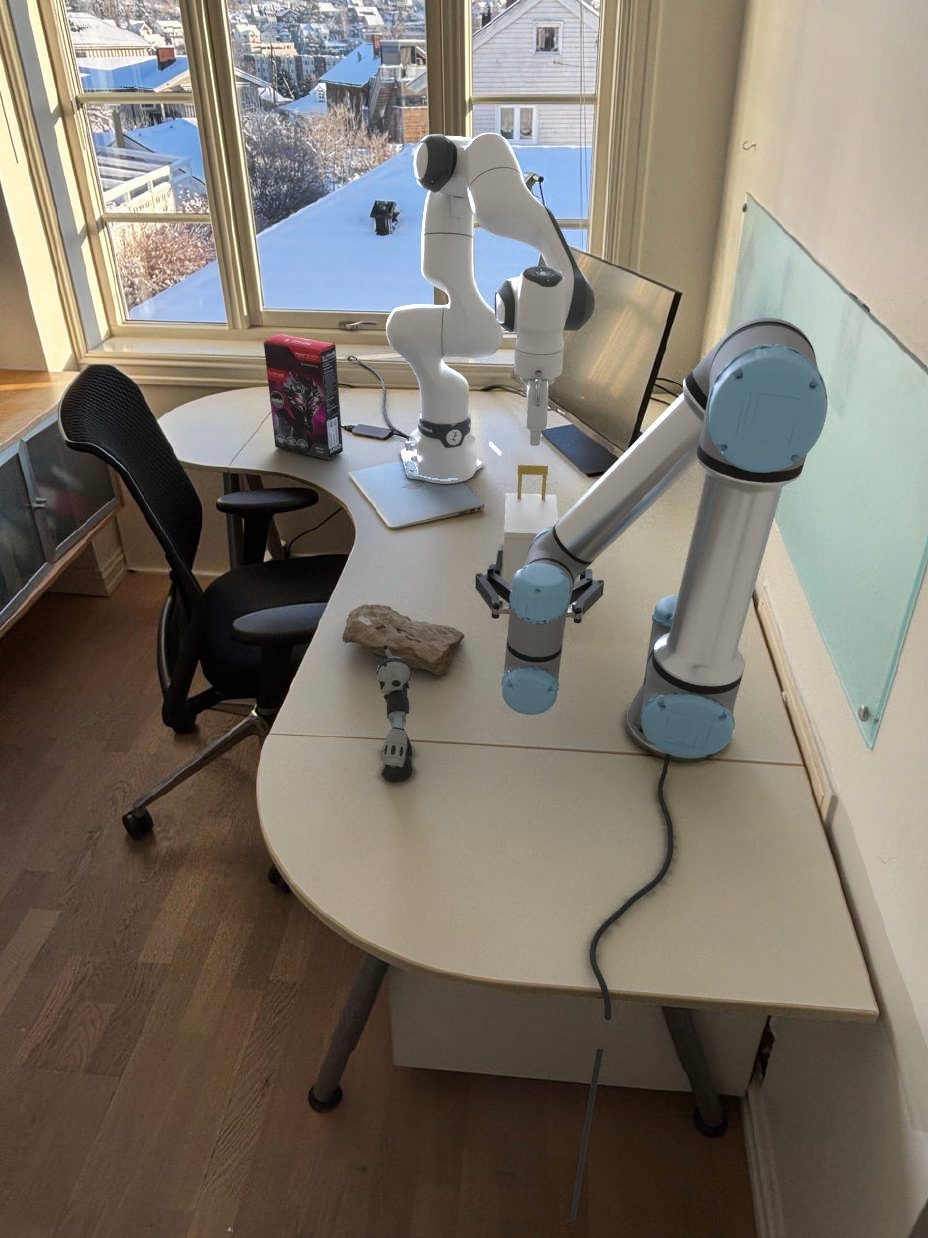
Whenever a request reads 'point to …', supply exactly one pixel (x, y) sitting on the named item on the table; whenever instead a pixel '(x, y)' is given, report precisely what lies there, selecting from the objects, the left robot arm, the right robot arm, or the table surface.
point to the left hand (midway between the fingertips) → (534, 434)
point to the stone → (402, 637)
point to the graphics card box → (304, 395)
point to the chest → (514, 556)
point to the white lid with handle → (529, 507)
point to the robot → (396, 716)
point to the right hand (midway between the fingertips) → (541, 559)
